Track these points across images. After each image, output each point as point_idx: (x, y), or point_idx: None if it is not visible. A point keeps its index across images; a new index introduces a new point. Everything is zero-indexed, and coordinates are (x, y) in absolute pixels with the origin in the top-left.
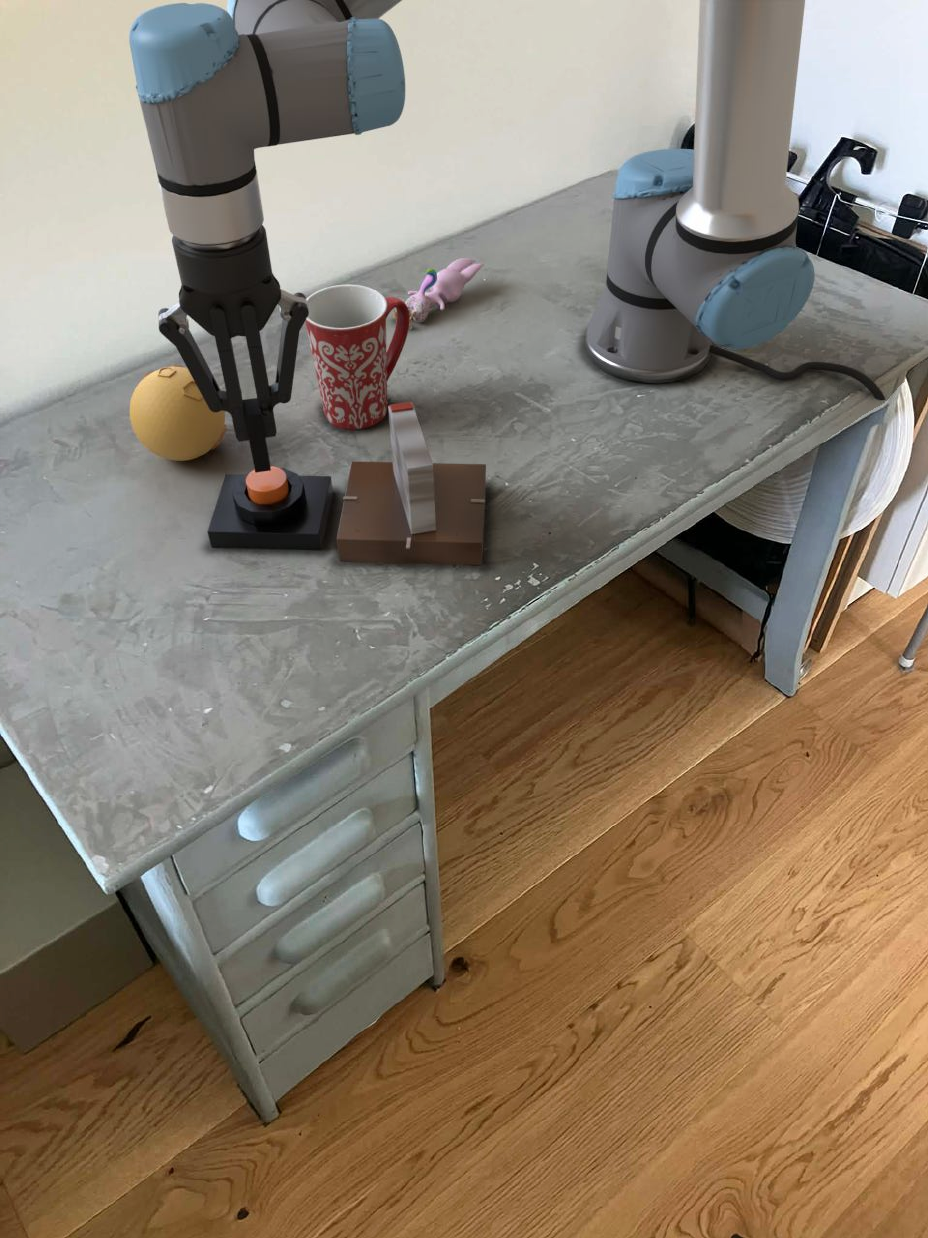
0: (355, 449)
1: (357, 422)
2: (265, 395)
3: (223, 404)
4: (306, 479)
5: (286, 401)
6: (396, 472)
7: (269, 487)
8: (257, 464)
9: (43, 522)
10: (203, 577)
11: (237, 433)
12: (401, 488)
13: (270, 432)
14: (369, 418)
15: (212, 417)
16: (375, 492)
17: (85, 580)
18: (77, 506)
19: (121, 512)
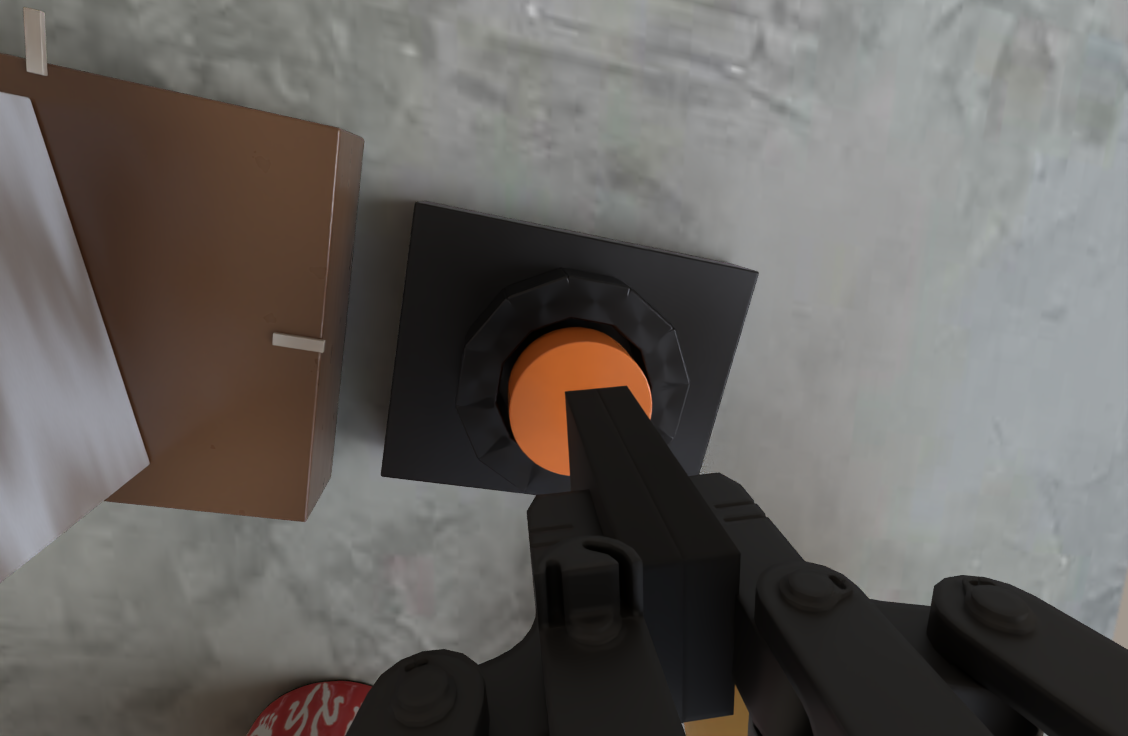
0: (332, 609)
1: (319, 699)
2: (594, 716)
3: (921, 641)
4: (457, 468)
5: (414, 663)
6: (82, 406)
7: (571, 360)
8: (621, 400)
9: (1095, 417)
10: (762, 144)
11: (739, 498)
12: (40, 302)
13: (560, 506)
14: (282, 712)
15: (737, 700)
16: (207, 361)
17: (1046, 189)
18: (1017, 463)
19: (928, 431)
